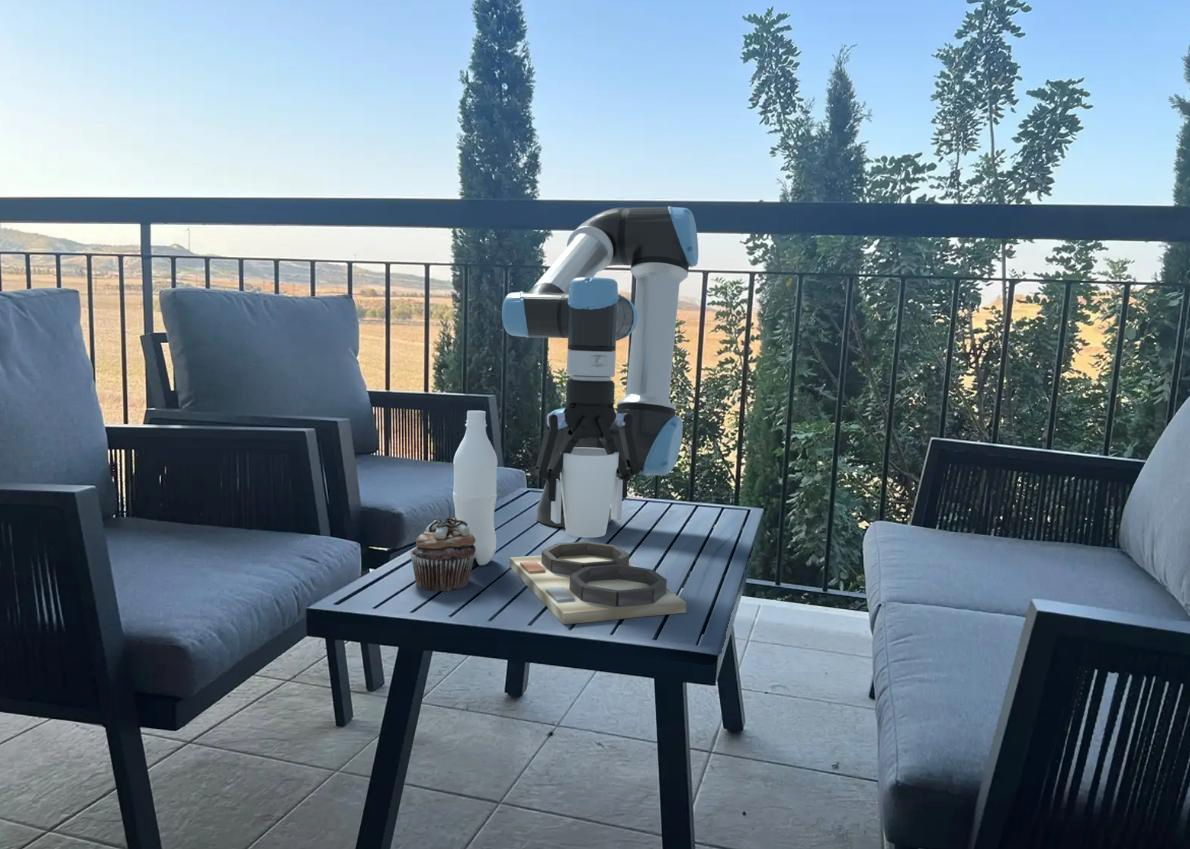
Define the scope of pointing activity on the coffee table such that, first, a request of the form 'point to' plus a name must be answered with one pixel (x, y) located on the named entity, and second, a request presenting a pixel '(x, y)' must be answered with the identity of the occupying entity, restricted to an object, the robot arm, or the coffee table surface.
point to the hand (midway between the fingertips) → (586, 519)
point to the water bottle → (476, 485)
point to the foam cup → (587, 490)
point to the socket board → (595, 583)
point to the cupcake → (444, 555)
